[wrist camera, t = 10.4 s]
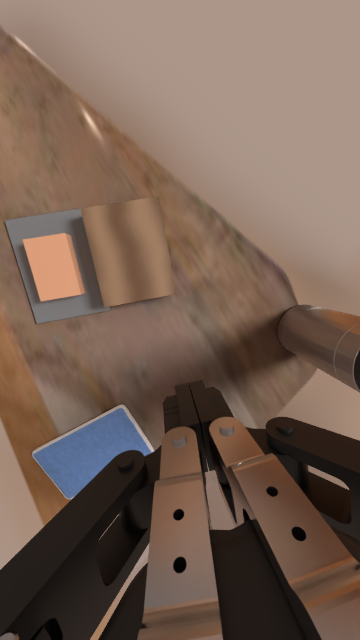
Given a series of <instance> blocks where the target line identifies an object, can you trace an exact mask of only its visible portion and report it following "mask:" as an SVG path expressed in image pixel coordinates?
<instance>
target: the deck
mask: <svg viewBox="0 0 360 640" xmlns="http://www.w3.org/2000/svg"><path fill="white" fill-rule="evenodd" d="M81 213H82V218H83V222H84V226H85V230H86V234H87V238H88V242H89V246H90V250H91V254H92V258H93V262H94V266H95V271H96V275H97V279H98V283H99V287H100V291H101V295H102V299H103V303H104V307H109V306H115V305H120V304H125V303H131V302H136V301H142V300H147V299H152V298H158V297H163V296H169V295H174V294H176V290H175V285H174V279H173V273H172V268H171V262H170V257H169V251H168V245H167V240H166V234H165V228H164V223H163V217H162V211H161V206H160V200H159V196H158V197H152V198H145V199H139V200H133V201H126V202H120V203H114V204H107V205H101V206H94V207H88V208H82V209H81Z"/></svg>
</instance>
